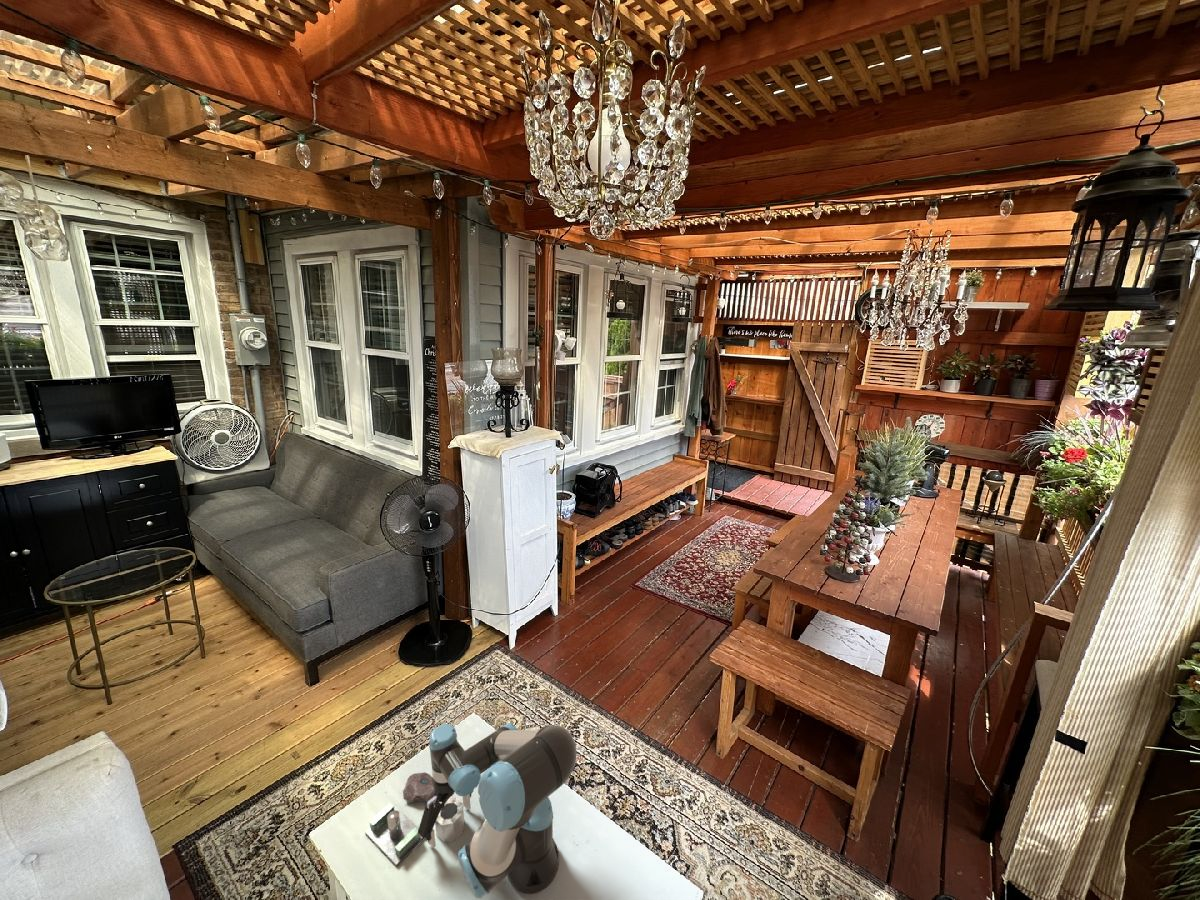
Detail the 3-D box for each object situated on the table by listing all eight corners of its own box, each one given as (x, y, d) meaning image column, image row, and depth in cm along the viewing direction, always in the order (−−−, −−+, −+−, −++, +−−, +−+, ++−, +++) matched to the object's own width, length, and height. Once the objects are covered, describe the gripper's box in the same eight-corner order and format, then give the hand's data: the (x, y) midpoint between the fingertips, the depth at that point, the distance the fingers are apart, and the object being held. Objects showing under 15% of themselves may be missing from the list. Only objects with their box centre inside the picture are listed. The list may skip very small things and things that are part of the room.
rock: (436, 805, 154) (435, 794, 153) (401, 805, 153) (400, 794, 152) (443, 781, 162) (442, 771, 160) (410, 781, 161) (409, 771, 160)
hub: (469, 824, 148) (467, 807, 146) (448, 847, 142) (447, 829, 140) (452, 809, 152) (450, 793, 150) (431, 831, 146) (429, 814, 144)
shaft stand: (426, 836, 144) (423, 817, 142) (396, 867, 136) (394, 847, 134) (394, 807, 153) (392, 788, 150) (365, 834, 145) (362, 814, 142)
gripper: (469, 737, 153) (472, 786, 159) (401, 799, 133) (407, 853, 139) (485, 748, 149) (488, 799, 155) (417, 814, 129) (423, 870, 135)
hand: (450, 825), depth 147 cm, fingers open, 13 cm apart
